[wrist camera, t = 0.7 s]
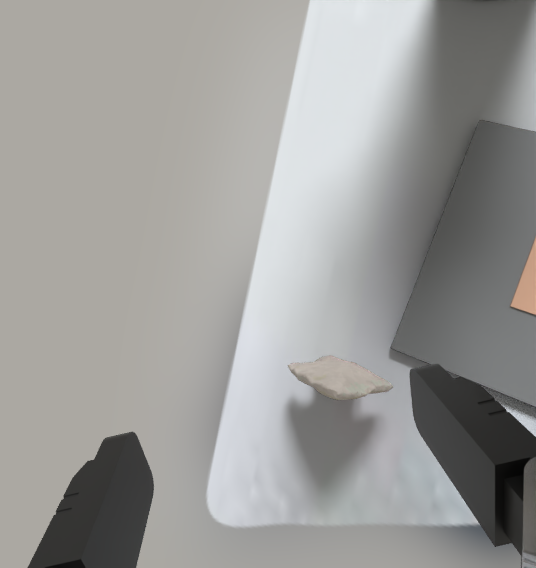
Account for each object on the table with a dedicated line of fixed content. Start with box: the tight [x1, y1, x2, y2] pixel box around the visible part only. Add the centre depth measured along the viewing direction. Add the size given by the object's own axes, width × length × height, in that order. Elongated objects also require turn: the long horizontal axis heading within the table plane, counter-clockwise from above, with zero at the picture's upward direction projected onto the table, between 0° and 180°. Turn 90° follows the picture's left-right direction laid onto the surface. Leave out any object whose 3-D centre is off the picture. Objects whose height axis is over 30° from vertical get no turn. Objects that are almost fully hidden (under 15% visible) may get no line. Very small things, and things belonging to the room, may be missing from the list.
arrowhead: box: [288, 355, 393, 400], centre depth 28 cm, size 8×3×10 cm, turn 79°
